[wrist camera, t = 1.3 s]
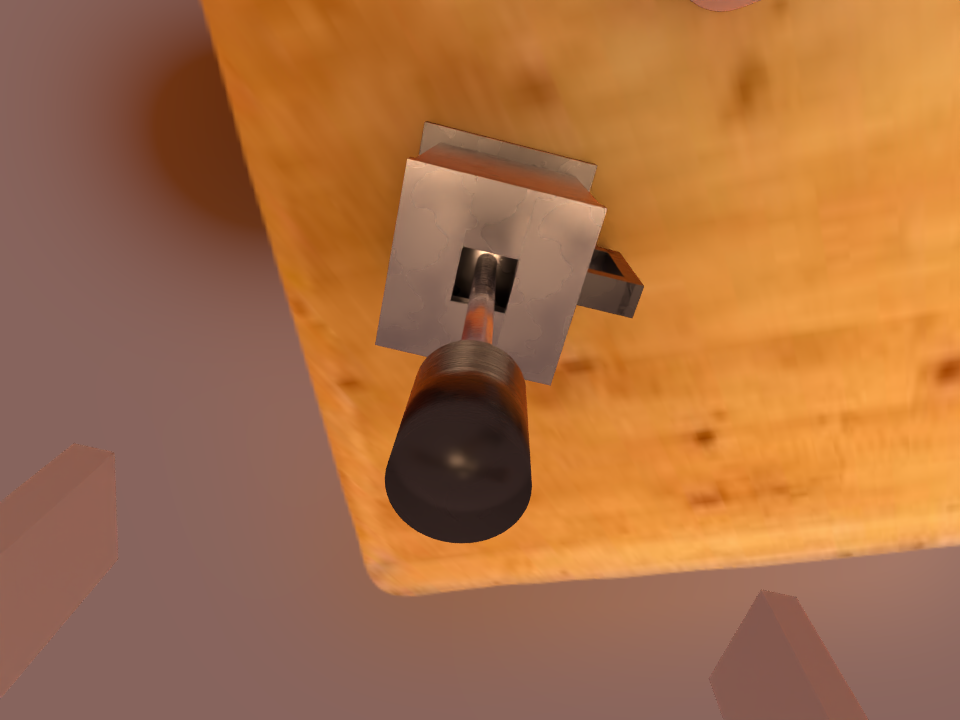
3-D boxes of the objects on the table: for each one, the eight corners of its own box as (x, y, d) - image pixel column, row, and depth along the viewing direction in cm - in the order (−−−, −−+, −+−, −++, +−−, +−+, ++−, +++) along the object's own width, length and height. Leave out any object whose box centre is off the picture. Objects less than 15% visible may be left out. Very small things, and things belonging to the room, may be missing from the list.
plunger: (570, 210, 33) (667, 383, 13) (533, 334, 36) (565, 627, 16) (435, 176, 32) (318, 301, 12) (410, 305, 35) (285, 569, 16)
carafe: (636, 174, 40) (692, 208, 28) (584, 330, 45) (613, 416, 33) (426, 121, 40) (390, 131, 27) (396, 285, 44) (354, 356, 32)
